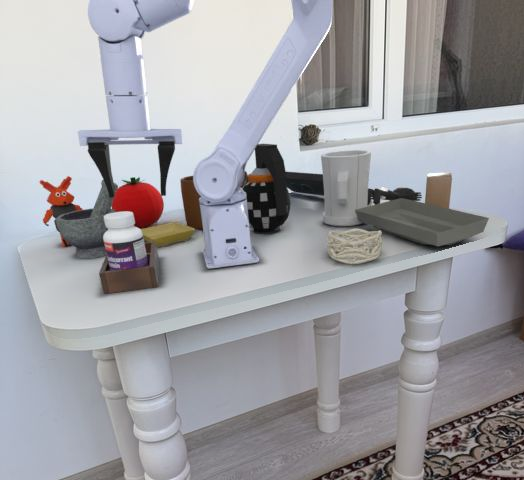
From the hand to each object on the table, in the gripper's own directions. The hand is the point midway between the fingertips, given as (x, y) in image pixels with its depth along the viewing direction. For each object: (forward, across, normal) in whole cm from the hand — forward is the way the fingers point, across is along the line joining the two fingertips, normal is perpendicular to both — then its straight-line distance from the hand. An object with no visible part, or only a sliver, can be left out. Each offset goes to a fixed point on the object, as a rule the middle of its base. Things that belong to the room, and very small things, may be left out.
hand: (138, 195), depth 75 cm
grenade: (+9, -22, -10) cm, 26 cm away
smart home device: (+6, -32, -46) cm, 56 cm away
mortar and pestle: (+12, +9, -9) cm, 17 cm away
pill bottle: (+10, +1, +10) cm, 15 cm away
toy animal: (+12, +15, -18) cm, 26 cm away
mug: (+10, -13, -21) cm, 27 cm away
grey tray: (+3, -44, +4) cm, 44 cm away
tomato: (+11, +2, -25) cm, 28 cm away
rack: (+10, +2, +7) cm, 12 cm away
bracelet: (+6, -35, +13) cm, 38 cm away
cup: (+8, -37, -9) cm, 39 cm away
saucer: (+11, -3, -12) cm, 16 cm away
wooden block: (+7, -51, -2) cm, 51 cm away
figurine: (+6, -51, -18) cm, 54 cm away
